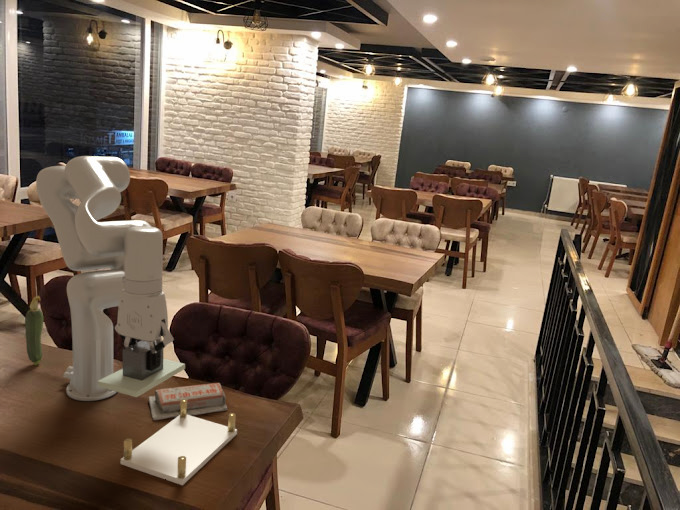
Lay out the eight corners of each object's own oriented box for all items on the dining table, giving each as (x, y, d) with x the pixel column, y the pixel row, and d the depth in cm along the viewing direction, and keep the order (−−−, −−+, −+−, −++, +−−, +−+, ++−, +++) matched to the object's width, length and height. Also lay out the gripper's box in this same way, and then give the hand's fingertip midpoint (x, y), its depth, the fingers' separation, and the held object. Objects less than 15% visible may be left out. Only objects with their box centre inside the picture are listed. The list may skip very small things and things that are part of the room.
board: (97, 386, 115) (97, 354, 114) (149, 359, 130) (149, 330, 129) (136, 397, 112) (136, 364, 111) (185, 368, 127) (185, 339, 125)
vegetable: (23, 365, 153) (20, 296, 148) (34, 359, 157) (31, 292, 152) (37, 367, 152) (35, 298, 148) (48, 361, 156) (46, 294, 152)
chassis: (120, 464, 115) (120, 441, 114) (182, 417, 135) (182, 398, 133) (182, 485, 110) (183, 462, 109) (237, 434, 130) (238, 414, 129)
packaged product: (219, 377, 147) (228, 394, 139) (218, 393, 149) (227, 412, 140) (148, 384, 140) (153, 404, 131) (148, 402, 141) (152, 422, 132)
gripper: (98, 282, 116) (99, 363, 120) (165, 296, 110) (164, 380, 114) (124, 275, 123) (124, 352, 127) (188, 287, 117) (187, 367, 121)
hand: (143, 364), depth 121 cm, fingers closed on board, 5 cm apart
